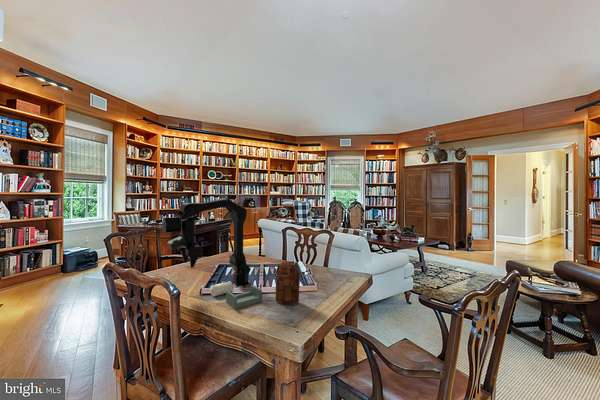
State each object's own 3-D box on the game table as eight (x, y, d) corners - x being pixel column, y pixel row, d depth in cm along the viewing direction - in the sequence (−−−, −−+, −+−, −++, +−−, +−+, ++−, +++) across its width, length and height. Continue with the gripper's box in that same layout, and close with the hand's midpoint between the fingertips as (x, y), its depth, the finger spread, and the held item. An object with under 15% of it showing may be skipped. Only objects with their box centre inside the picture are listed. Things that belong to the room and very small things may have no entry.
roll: (228, 290, 139) (228, 279, 138) (233, 293, 135) (233, 283, 135) (209, 294, 133) (210, 283, 133) (214, 298, 129) (214, 287, 129)
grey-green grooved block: (252, 295, 133) (252, 284, 133) (261, 301, 127) (261, 290, 127) (226, 302, 125) (226, 291, 124) (234, 309, 119) (234, 297, 118)
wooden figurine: (271, 302, 126) (272, 262, 124) (276, 297, 132) (277, 258, 130) (296, 307, 122) (298, 265, 121) (301, 301, 128) (302, 261, 127)
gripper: (163, 229, 131) (163, 263, 132) (175, 236, 116) (176, 274, 117) (188, 227, 138) (188, 259, 139) (202, 233, 123) (203, 269, 124)
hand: (188, 265), depth 130 cm, fingers open, 9 cm apart
